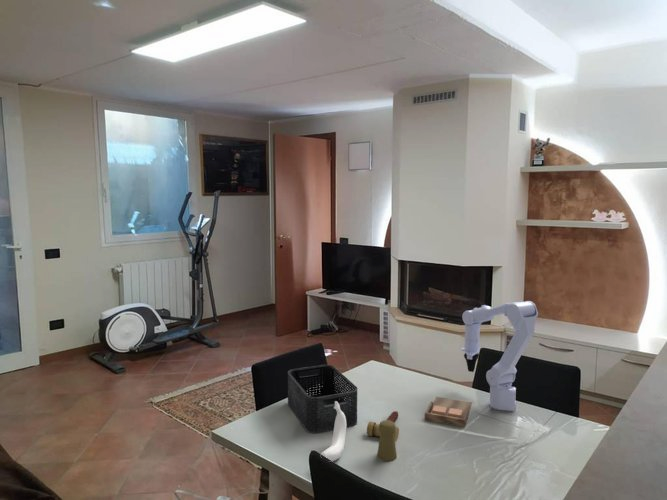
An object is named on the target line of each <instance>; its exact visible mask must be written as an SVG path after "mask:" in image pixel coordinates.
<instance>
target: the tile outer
mask: <svg viewBox="0 0 667 500" xmlns="http://www.w3.org/2000/svg"><path fill="white" fill-rule="evenodd" d="M432 413H433V414H439V415H445V416H446V415H447V407H441V406H434V408H433V410H432Z"/></svg>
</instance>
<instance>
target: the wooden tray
mask: <svg viewBox="0 0 667 500" xmlns="http://www.w3.org/2000/svg"><path fill="white" fill-rule="evenodd" d="M472 404H473V402H472V401H468V400H467V401H465V400H459V399H453V398H447V397H441V396H436V397H435V399H434V400H433V401H430V403H429V405H428V407H427V408H426V410H425V413H424V420H425V421H429V422H434V423H441V424H446V425H452V426H455V427H456V426H457V427H462V428H465V427H466V425H467V421H468V418H469V415H470V412H471V409H472ZM434 406H441V407H447V415H446V416H445V415H439V414H433V413H432V410H433V408H434ZM450 408H453V409H459V410H463V417H462V418H456V417H450V416H448V412H449V410H450Z"/></svg>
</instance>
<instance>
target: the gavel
mask: <svg viewBox="0 0 667 500" xmlns="http://www.w3.org/2000/svg"><path fill="white" fill-rule="evenodd" d="M398 417H399V411H398V410H396V411H393V412H392V413H391V414H390V415H389V416H388V417H387V419H386V420H390V421H392V422H394V423H395V421H397V419H398ZM379 424H380V423H376V422H375V421H369V422H368V423H367V427H366V434H367V436H369V437H377V438H380V433H381V432H380V430H379ZM399 431H400V430H399V427H398V426H396V430H395V433H394V438H395V442H396V441H398V439H399V435H400V434H399V433H400V432H399Z"/></svg>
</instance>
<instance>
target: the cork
mask: <svg viewBox="0 0 667 500" xmlns="http://www.w3.org/2000/svg"><path fill="white" fill-rule="evenodd" d="M378 424H379V430H380V432H381V433H380V437H379V440H378V441H379V442H378V448H377V455H376V457H377V458H378V459H379V460H381V461H384V462H392V461H395V460H397V457H398V455H397V448H396V447H397V446H396V441H395V438H394V433H395V430H396V427H397V425H396V424H395V422H392V421H390V420H387V419H384V420H382V421H381V422H380V423H378Z"/></svg>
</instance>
